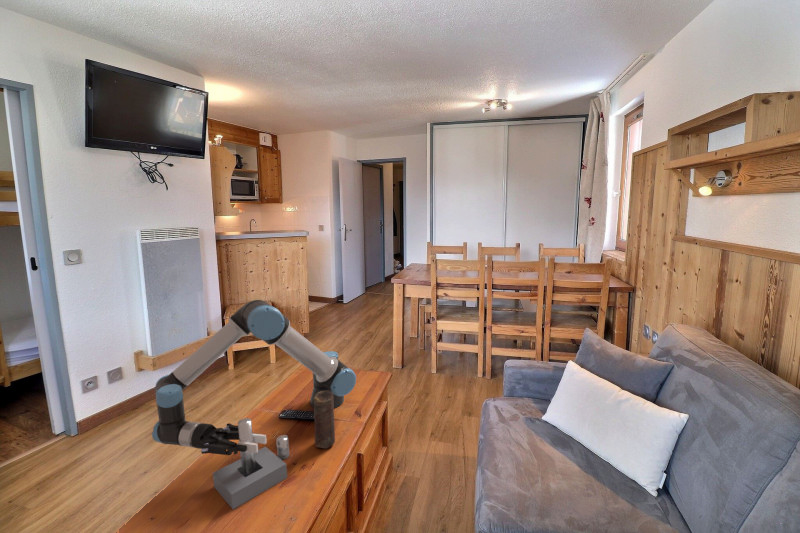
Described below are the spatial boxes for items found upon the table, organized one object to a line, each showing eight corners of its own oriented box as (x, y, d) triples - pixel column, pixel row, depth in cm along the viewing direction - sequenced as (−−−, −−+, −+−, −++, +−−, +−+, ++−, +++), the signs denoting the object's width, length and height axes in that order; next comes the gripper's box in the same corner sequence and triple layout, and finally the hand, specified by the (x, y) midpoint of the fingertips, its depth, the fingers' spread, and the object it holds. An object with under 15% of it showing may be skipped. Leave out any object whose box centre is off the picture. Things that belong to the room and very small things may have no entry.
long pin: (251, 464, 126) (247, 416, 123) (257, 469, 123) (253, 421, 120) (239, 470, 123) (235, 421, 120) (245, 476, 120) (241, 426, 118)
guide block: (266, 459, 135) (265, 446, 134) (287, 477, 126) (286, 463, 125) (214, 487, 122) (212, 472, 121) (233, 509, 113) (231, 494, 112)
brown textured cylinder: (339, 440, 145) (336, 391, 142) (329, 452, 138) (326, 401, 135) (321, 437, 147) (318, 388, 144) (311, 448, 140) (308, 398, 137)
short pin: (285, 451, 139) (284, 433, 138) (291, 455, 137) (290, 437, 136) (275, 456, 137) (274, 438, 135) (281, 461, 134) (279, 443, 133)
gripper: (217, 431, 134) (276, 439, 129) (179, 462, 118) (245, 472, 113) (215, 411, 133) (275, 418, 128) (176, 440, 117) (243, 449, 111)
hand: (261, 443), depth 120 cm, fingers closed on long pin, 4 cm apart
